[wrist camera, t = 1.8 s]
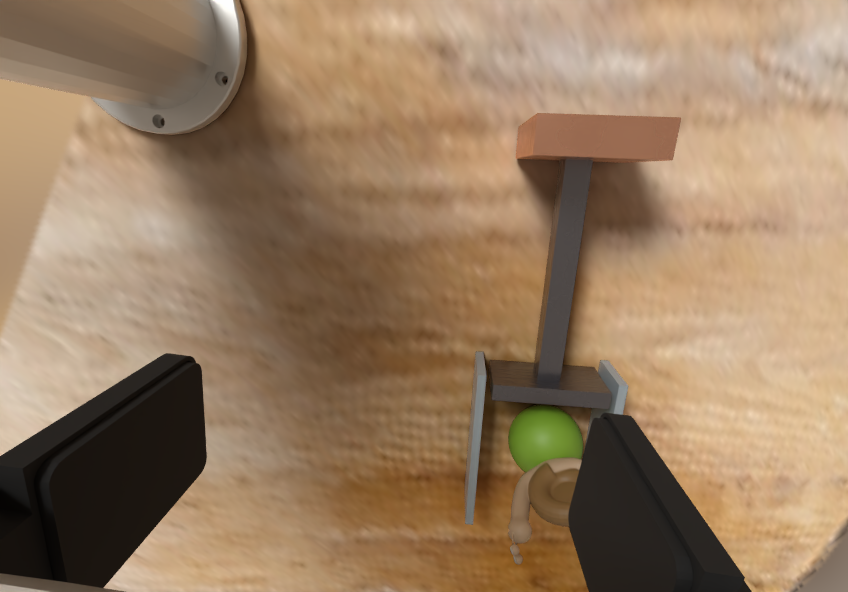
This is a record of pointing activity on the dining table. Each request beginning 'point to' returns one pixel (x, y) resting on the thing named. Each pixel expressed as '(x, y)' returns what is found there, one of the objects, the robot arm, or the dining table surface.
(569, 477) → the snail figurine
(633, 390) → the dining table surface
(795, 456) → the dining table surface
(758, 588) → the dining table surface
